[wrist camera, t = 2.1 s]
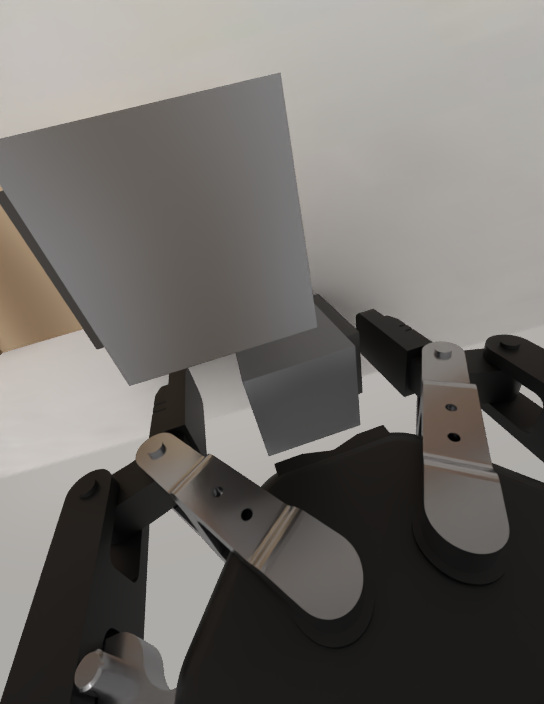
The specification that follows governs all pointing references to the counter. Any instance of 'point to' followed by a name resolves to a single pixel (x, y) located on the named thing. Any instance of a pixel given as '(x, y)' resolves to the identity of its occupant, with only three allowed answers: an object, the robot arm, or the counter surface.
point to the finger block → (305, 382)
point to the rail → (157, 231)
